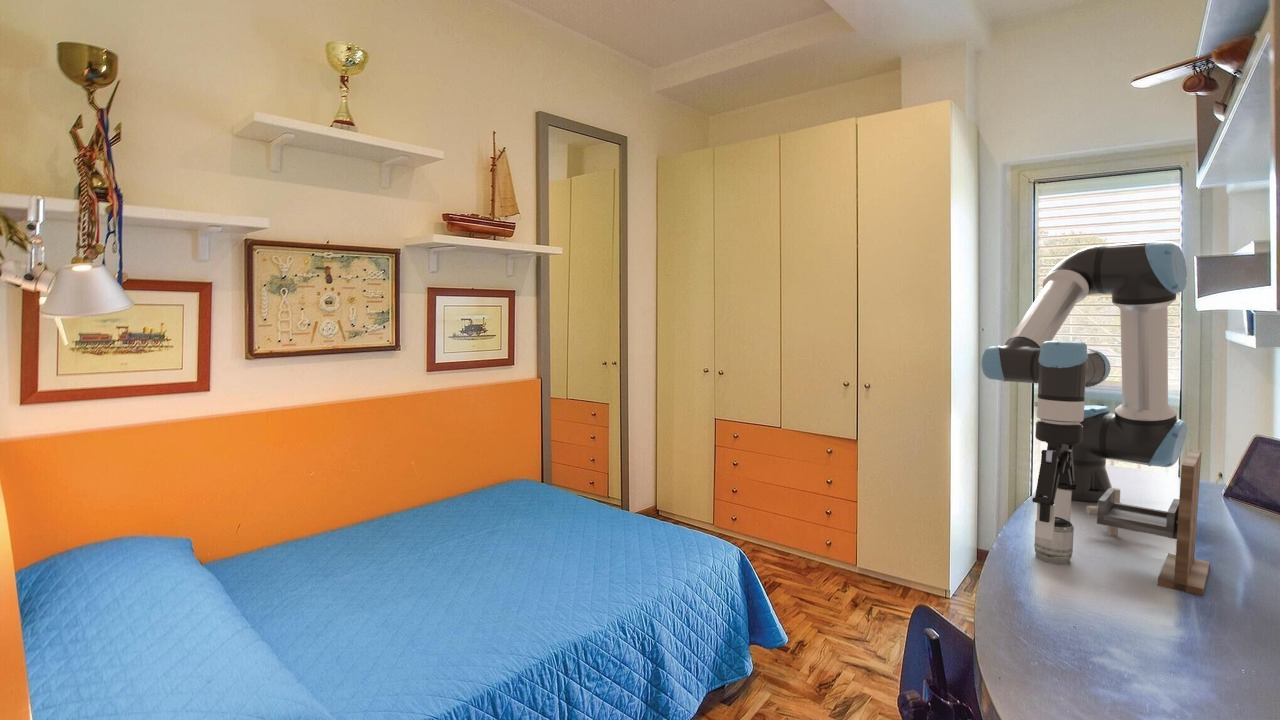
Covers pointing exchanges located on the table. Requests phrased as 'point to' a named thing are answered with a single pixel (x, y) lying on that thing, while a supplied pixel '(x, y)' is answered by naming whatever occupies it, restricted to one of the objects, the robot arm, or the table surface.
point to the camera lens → (1056, 543)
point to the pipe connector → (1094, 511)
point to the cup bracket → (1167, 528)
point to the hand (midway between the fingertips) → (1053, 529)
